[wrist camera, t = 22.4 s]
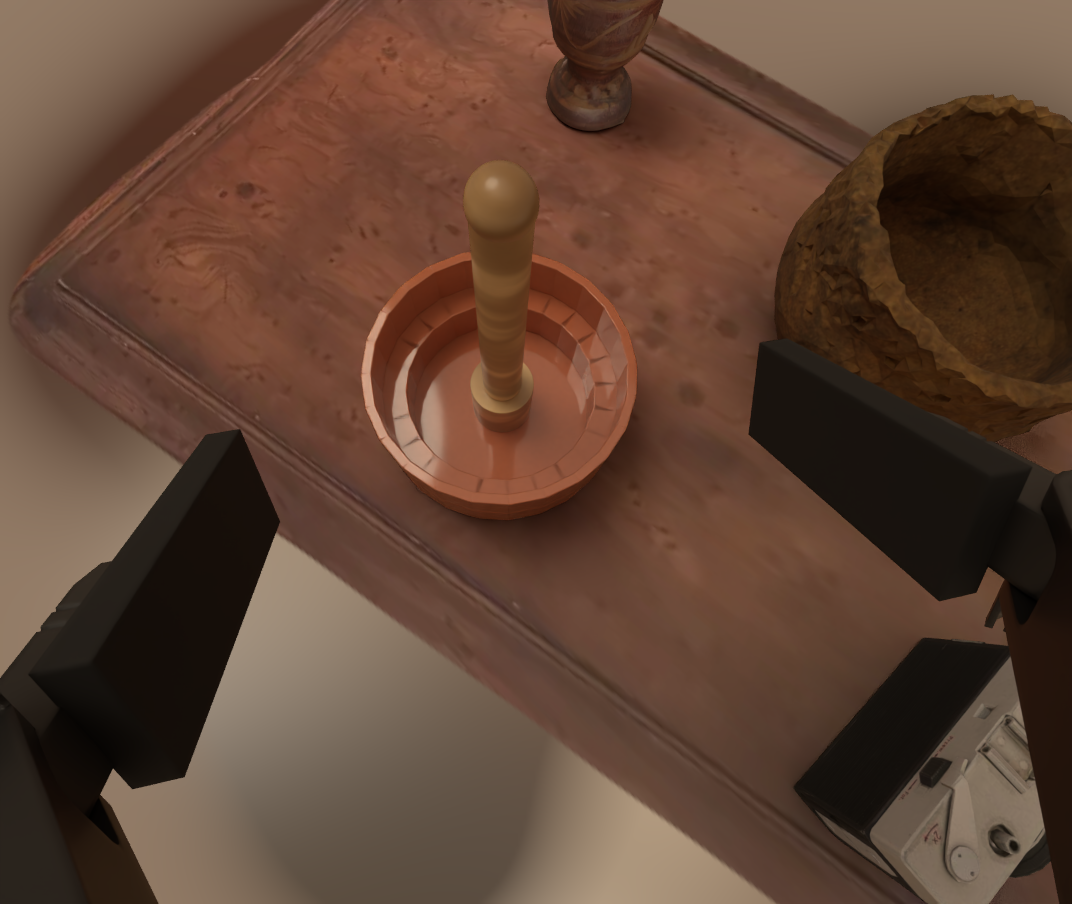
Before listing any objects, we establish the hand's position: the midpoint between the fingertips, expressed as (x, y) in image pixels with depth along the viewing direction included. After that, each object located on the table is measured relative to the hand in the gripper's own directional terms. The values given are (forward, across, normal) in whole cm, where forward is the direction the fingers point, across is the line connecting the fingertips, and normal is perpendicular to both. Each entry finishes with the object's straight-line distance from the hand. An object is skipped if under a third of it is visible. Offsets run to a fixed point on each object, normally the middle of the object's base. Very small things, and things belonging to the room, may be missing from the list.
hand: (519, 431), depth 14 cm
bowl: (+22, +28, -11) cm, 37 cm away
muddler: (+22, +1, -10) cm, 24 cm away
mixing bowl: (+23, +1, -10) cm, 25 cm away
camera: (+3, +22, -30) cm, 37 cm away
